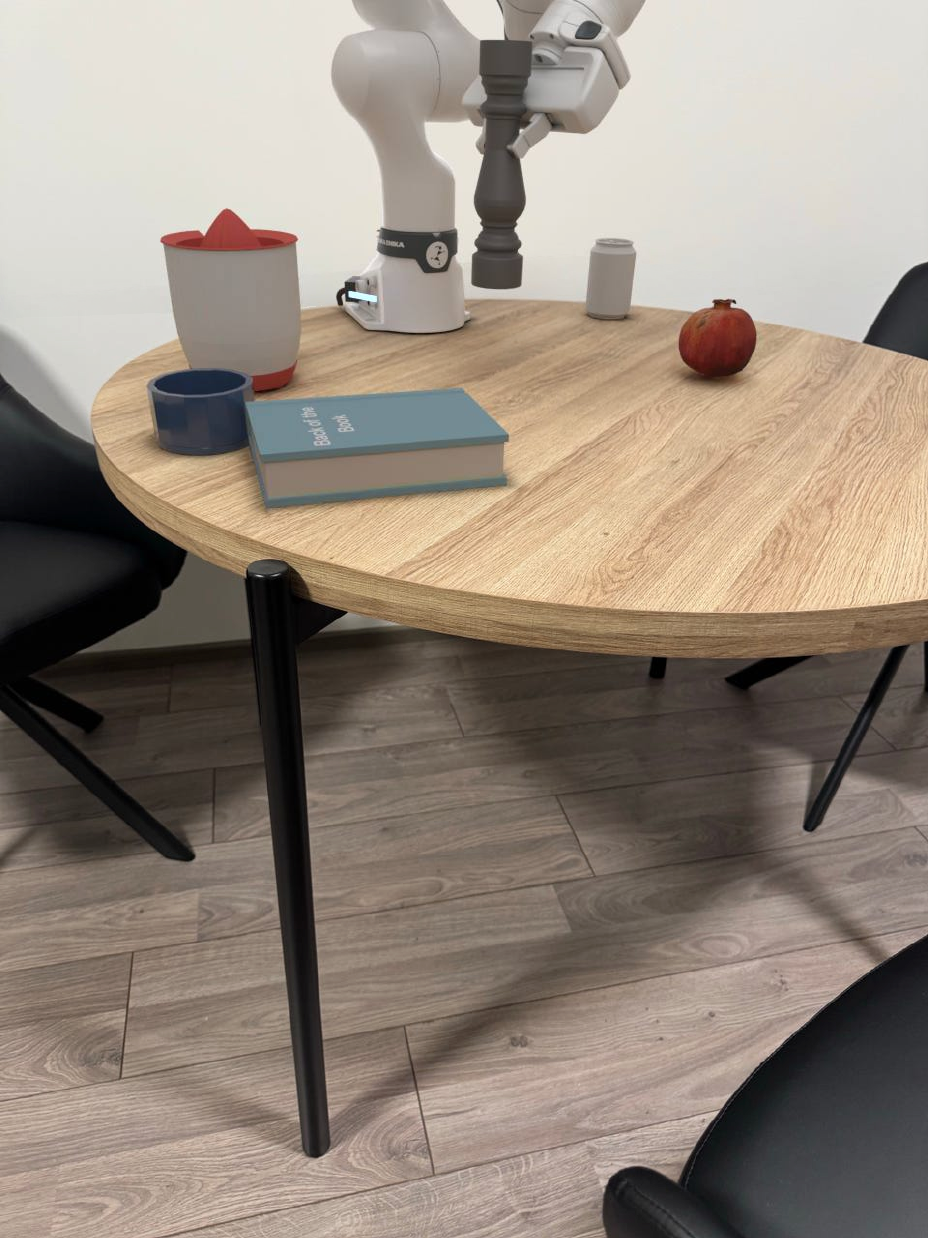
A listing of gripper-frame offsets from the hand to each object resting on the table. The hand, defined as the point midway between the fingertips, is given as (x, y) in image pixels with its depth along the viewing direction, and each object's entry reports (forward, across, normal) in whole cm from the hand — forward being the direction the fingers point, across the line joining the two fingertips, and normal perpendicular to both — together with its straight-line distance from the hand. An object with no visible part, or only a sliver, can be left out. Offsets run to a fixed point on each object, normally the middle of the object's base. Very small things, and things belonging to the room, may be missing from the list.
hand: (497, 152), depth 100 cm
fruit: (0, +16, +37) cm, 40 cm away
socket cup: (+46, -2, -9) cm, 47 cm away
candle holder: (+10, 0, +11) cm, 15 cm away
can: (-11, -18, +49) cm, 53 cm away
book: (+39, +15, -2) cm, 42 cm away
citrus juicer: (+36, -19, +1) cm, 41 cm away
